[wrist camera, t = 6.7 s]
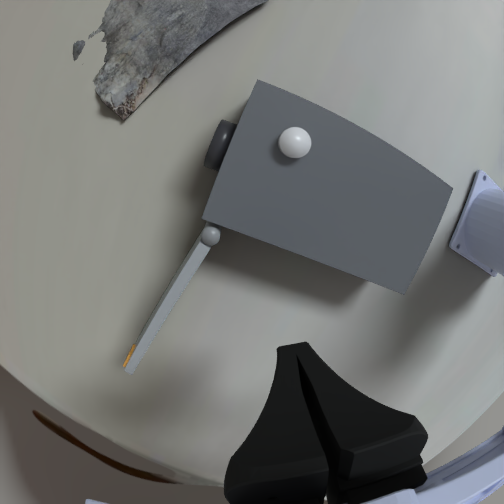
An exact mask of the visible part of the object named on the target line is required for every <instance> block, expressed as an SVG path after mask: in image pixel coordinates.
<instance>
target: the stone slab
mask: <svg viewBox="0 0 504 504" xmlns="http://www.w3.org/2000/svg"><path fill="white" fill-rule="evenodd" d="M266 1H269V0H111V1H110V4H109V6H108V8H107V9H106V11H105V17H104V18H103V19H102V22H103V23H102V24H101V26H100V27H99V28H98V30H97V31H95V33H94V32H93V33H92V34H90V35H89V38H90V37H93V36H94V35H95V34H97V33H98V32H101V31H103V32H105V36H104V38H103V39H102V42H105V41H107V42H106V43H107V46H106V48H107V53H106V55H105V58H104V62H106V63H105V64H104V66H103V67H102V68H101V69H100V71H99V73H98V74H97V75H96V77H95V78H94V80H93V82H94V84H95V85H96V89H95V90H96V92H97V94H98V95H99V96H100V97H101V100H102V101H103V102H104V103H105V104H106V105H107V106H108V107H109V108H111V109H112V110H113V111H114V112H115V113H116V114H117V115H118V116H120V117H121V118H122V119H123V120H125V119H126V118H127V117H128V116H129V115H130V114H131V112H134V111H135V110H136V108H137V107H138V106H139V105H140V104H141V103H142V102H143V100H144V99H145V98H146V97H147V96H148V95H149V94H150V93H151V92H152V91H153V90H154V89H155V88H156V87H157V86H158V85H159V83H160V82H161V81H162V80H163V79H164V78H165V77H166V76H167V75H168V74H169V73H170V72H171V71H172V70H173V69H174V68H176V67H177V66H178V65H179V64H180V63H181V62H182V61H183V60H184V59H185V58H186V57H187V56H188V55H189V54H190V53H192V52H193V51H194V50H195V49H196V48H197V47H199V46H200V45H201V44H202V43H204V42H205V41H206V40H207V39H209V38H210V37H211V36H213V35H214V34H215V33H217V32H218V31H220V30H221V29H222V28H223V27H224V26H226V25H227V24H228V23H230V22H231V21H233V20H234V19H236V18H238V17H239V16H241V15H242V14H244V13H245V12H247V11H249V10H250V9H252V8H254V7H255V6H257V5H259V4H261V3H264V2H266ZM89 38H88V39H89ZM84 45H85V41H83V40H82V41H77V42H76V43H74V48H73V55H74V61H75V60H77V58H78V56H79V55H80V53H81V52H82V49H83V47H84ZM82 65H83V64H82Z"/></svg>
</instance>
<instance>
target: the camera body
mask: <svg viewBox="0 0 504 504" xmlns="http://www.w3.org/2000/svg"><path fill="white" fill-rule="evenodd" d="M204 166H205V167H208V168H210V169H213V170H216V171H219V173H218V175H217V178H216V181H215V183H214V186H213V188H212V191H211V194H210V196H209V199H208V202H207V205H206V207H205V210H204V213H203V216H202V218H201V219H204V220H207V221H209V222H212V223H215V224H218V225H220V226H223V227H226V228H229V229H231V230H234V231H237V232H240V233H242V234H245V235H248V236H251V237H253V238H256V239H259V240H261V241H264V242H267V243H269V244H272V245H275V246H278V247H280V248H283V249H286V250H288V251H291V252H294V253H296V254H299V255H302V256H304V257H307V258H310V259H312V260H315V261H318V262H320V263H323V264H326V265H328V266H331V267H333V268H336V269H339V270H341V271H344V272H347V273H349V274H352V275H354V276H357V277H360V278H362V279H365V280H367V281H370V282H373V283H375V284H378V285H380V286H383V287H386V288H388V289H391V290H393V291H396V292H398V293H401V294H405V292H406V291H407V289H408V287H409V285H410V283H411V281H412V279H413V278H414V276H415V274H416V272H417V270H418V268H419V266H420V264H421V262H422V260H423V258H424V256H425V254H426V252H427V249H428V247H429V245H430V243H431V241H432V239H433V236H434V234H435V232H436V230H437V227H438V225H439V223H440V220H441V218H442V216H443V213H444V211H445V208H446V206H447V203H448V201H449V198H450V196H451V193H452V190H453V188H452V187H451V186H449V185H448V184H447V183H445V182H444V181H443V180H441V179H440V178H439V177H437V176H436V175H435V174H433V173H432V172H430V171H429V170H428V169H426V168H425V167H423V166H422V165H421V164H419V163H418V162H416V161H415V160H413V159H412V158H410V157H409V156H407V155H406V154H404V153H403V152H401V151H399V150H398V149H396V148H395V147H393V146H392V145H390V144H388V143H387V142H385V141H383V140H382V139H380V138H378V137H377V136H375V135H373V134H372V133H370V132H368V131H366V130H365V129H363V128H361V127H359V126H357V125H356V124H354V123H352V122H350V121H348V120H346V119H345V118H343V117H341V116H339V115H337V114H335V113H333V112H331V111H329V110H327V109H325V108H323V107H321V106H319V105H317V104H314V103H312V102H310V101H308V100H306V99H304V98H301V97H299V96H297V95H295V94H292V93H290V92H288V91H285V90H283V89H281V88H278V87H276V86H273V85H271V84H268V83H266V82H263V81H260V80H258V79H257V82H256V84H255V86H254V88H253V91H252V93H251V95H250V97H249V100H248V102H247V104H246V107H245V109H244V111H243V114H242V116H241V118H240V121H239V123H238V125H237V124H234V123H231V122H229V121H226V120H223V119H222V120H221V122H220V124H219V125H218V127H217V129H216V132H215V134H214V136H213V139H212V141H211V144H210V146H209V149H208V152H207V155H206V158H205V161H204Z"/></svg>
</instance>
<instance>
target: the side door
mask: <svg viewBox="0 0 504 504" xmlns="http://www.w3.org/2000/svg"><path fill="white" fill-rule="evenodd" d="M221 228H222V226H220V225H218V224H215V223H212V222H209V221H207V222H206V225H205V227H204V229H203V231H202V232H201V234H200V235H199V237H198V238H197V240H196V242H195V243H194V245H193V246H192V248H191V250H190V251H189V253H188V254H187V256H186V258H185V259H184V261H183V263H182V264H181V266H180V267H179V269H178V271H177V272H176V274H175V276H174V277H173V279H172V281H171V282H170V284H169V286H168V287H167V289H166V291H165V292H164V294H163V296H162V297H161V299H160V301H159V303H158V304H157V306H156V308H155V309H154V311H153V313H152V315H151V316H150V318H149V320H148V322H147V323H146V325H145V327H144V329H143V331H142V332H141V334H140V336H139V338H138V339H137V342H136V344H133V346H132V348H131V350H130V351H129V353H128V356H127V358H126V360H125V362H124V364H123V366H124V367H125V369H124V371H125V372H127V373H129V374H131V375H132V374H133V373H134V371H135V369H136V368H137V366H138V364H139V362H140V361H141V359H142V357H143V356H144V354H145V352H146V351H147V349H148V347H149V346H150V344H151V342H152V341H153V339H154V337H155V336H156V334H157V332H158V331H159V329H160V328H161V326H162V324H163V323H164V321H165V319H166V318H167V316H168V315H169V313H170V311H171V310H172V308H173V307H174V305H175V303H176V302H177V300H178V299H179V297H180V295H181V294H182V292H183V291H184V289H185V287H186V286H187V284H188V283H189V281H190V280H191V278H192V276H193V275H194V273H195V272H196V270H197V269H198V267H199V266H200V264H201V262H202V261H203V259H204V258H205V256H206V255H207V253H208V252H209V250H210V248H211V246H212V245H215V244H217V243H218V241H219V239H220V234H221Z"/></svg>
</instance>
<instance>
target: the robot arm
mask: <svg viewBox="0 0 504 504" xmlns="http://www.w3.org/2000/svg"><path fill="white" fill-rule="evenodd" d="M457 245H458V246H457ZM449 246H450V248H451V249H452V250H454V251H455V252H457V253H459V254H460V255H462V256H463V257H465V258H466V259H468V260H469V261H471V262H472V263H474V264H475V265H477V266H478V267H480V268H481V269H483V270H484V271H486V272H487V273H489V274H490V275H491V276H493V277H495V276H496V275H497V273H499V274H501V275H503V276H504V191H502V190H501V189H500V188H499V186H498V185H497V184H496V183H495V182H494V181H493V180H492V179H491V178H490V177H489V176H488V175H487V174H486V173H485V172H484V171H483V170H478V171H477V173H476V176H475V179H474V182H473V185H472V188H471V191H470V193H469V196H468V199H467V202H466V204H465V207H464V209H463V212H462V215H461V217H460V220H459V222H458V224H457V227H456V229H455V232H454V234H453V236H452V238H451V241H450V244H449ZM456 247H457V248H456ZM427 439H428V434H427V432H426V430H425V428H424V427H423V425H422V424H421V423H420V422H419V420H418V419H417V418H416V417H415V416H414V415H411V414H407V413H404V412H401V411H398V410H395V409H392V408H390V407H388V406H385V405H383V404H381V403H379V402H377V401H375V400H373V399H371V398H369V397H368V396H366V395H364V394H363V393H361V392H359V391H358V390H356V389H355V388H354V387H352V386H351V385H349V384H348V383H347V382H346V381H344V380H343V379H342V378H341V377H340V376H338V375H337V374H336V373H335V372H334V371H333V370H332V369H331V368H330V367H329V366H328V365H327V364H326V363H325V362H324V361H323V360H322V359H321V358H320V357H319V356H318V355H317V353H316V352H315V351H314V350H313V349H312V347H311V346H310V345H309V343H307V342H302V343H296V344H291V345H285V346H280V347H278V348H277V364H276V370H275V375H274V380H273V383H272V387H271V390H270V393H269V396H268V399H267V401H266V404H265V406H264V408H263V410H262V413H261V414H260V416H259V418H258V420H257V422H256V424H255V426H254V427H253V429H252V430H251V432H250V434H249V435H248V437H247V438H246V440H245V441H244V442H243V444H242V445H241V446H240V447H239V449H238V450H237V451H236V452H235V453H234V455H233V456H232V457H231V459H230V461H229V464H228V467H227V471H226V475H225V480H224V495H225V498H226V499H227V501H228V502H229V503H230V504H323V503H324V497H325V496H327V501H328V504H478V503H479V502H481V501H482V500H484V499H485V498H486V497H487V496H489V495H490V494H492V493H493V492H494V491H496V490H497V489H498V488H500V487H501V486H502V485H504V426H503V428H502V430H500V431H499V432H498V433H496V434H495V435H493V436H492V437H490V438H489V439H488V440H486V441H484V442H483V443H481V444H480V445H478V446H476V447H475V448H473V449H471V450H470V451H468V452H466V453H465V454H463V455H461V456H460V457H458V458H456V459H454V460H452V461H450V462H449V463H447V464H445V465H443V466H441V467H439V468H437V469H435V470H433V471H431V472H429V473H427V474H426V473H425V471H424V469H423V467H422V465H421V464H422V463H423V460H422V458H421V456H420V453H421V452H422V450H423V448H424V446H425V444H426V442H427ZM85 504H108V503H104V502H100V501H95V500H91V499H86V502H85Z"/></svg>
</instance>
